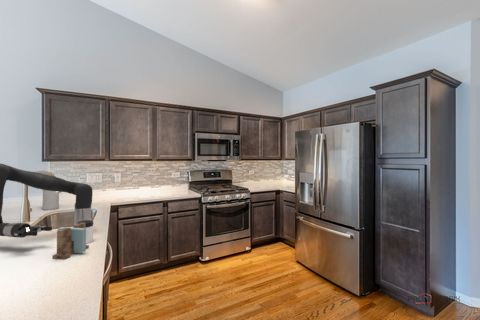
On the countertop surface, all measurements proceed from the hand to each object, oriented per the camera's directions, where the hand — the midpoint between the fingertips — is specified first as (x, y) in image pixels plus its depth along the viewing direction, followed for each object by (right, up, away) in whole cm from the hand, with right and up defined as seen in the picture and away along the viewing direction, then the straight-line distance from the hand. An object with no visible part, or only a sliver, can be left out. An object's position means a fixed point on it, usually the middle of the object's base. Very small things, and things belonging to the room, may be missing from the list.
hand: (44, 231), depth 129 cm
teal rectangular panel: (+16, -10, -2) cm, 19 cm away
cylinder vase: (-79, -10, +105) cm, 132 cm away
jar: (+12, -11, +16) cm, 23 cm away
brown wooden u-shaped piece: (+16, -11, -2) cm, 20 cm away
